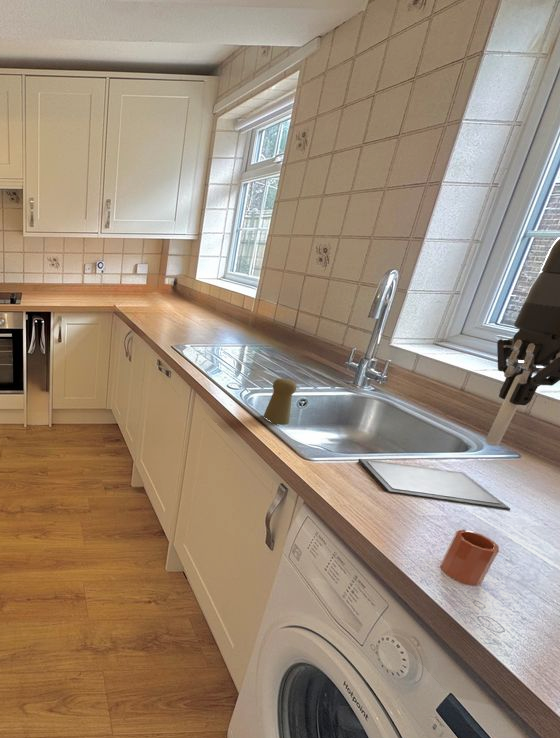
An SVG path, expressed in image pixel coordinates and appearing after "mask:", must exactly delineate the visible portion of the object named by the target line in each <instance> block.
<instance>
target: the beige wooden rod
mask: <svg viewBox="0 0 560 738" xmlns="http://www.w3.org/2000/svg"><path fill="white" fill-rule="evenodd" d="M521 376H522V374H520V375H517V376H516V377H515V379H514V381H513V383H512V385H511V387H510V389H509V391H508V393H507V396H506V398H505V399H503V403H502V404H501V406H500V408H499V410H498V412H497V415H496V416H495V418H494V421H493V422H492V425H491V427H490V429H489V432H488V433H487V436H486V438H485V443H486V444H487V445H489V446H492V447H495V446H496V447H497V446H498V445H500V444H501V441H502V439H503V438H504V435H505V434H506V432H507V430H508V427H509V425H510V424H511V421H512V419H513V417H514V415H515V413H516V411H517V409H518V407H519V405H515V404H513V403H510V398H511V396H512V394H513V392H514V390H515V388H516V386H517V384H518V383H520V378H521Z"/></svg>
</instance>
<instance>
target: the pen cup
mask: <svg viewBox="0 0 560 738" xmlns="http://www.w3.org/2000/svg"><path fill="white" fill-rule="evenodd" d="M499 552H500V547H499V545H498V544H497V543H496V542H494V540H492V539H491V538H489V537H487V536H485V535H483V534H481V533H479V532H476V531H473V530H467V529H458V530H456V531H455V533H454V535H453V538H452V539H451V541H450V543H449V545H448V547H447V550H446V551H445V554H444V555H443V558H442V560H441V562H440V569H441V571H443V573H444V574H445V575H447V576H448V577H450V578H451V579H453V580H455V581H457V582H458V583H460V584H461V583H462V584H464V585H466V586H467V585H468V586H472V587H473V586H474V587H477V586H479V585H481V584H482V583H483V581H484V579H485V577H486V575H487V574H488V572H489V570H490V568H491V566H492V564H493V563H494V561H495V559H496V557H497V555H498V553H499Z"/></svg>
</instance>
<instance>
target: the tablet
mask: <svg viewBox="0 0 560 738" xmlns="http://www.w3.org/2000/svg"><path fill="white" fill-rule="evenodd" d="M357 462H358V464H359V465H360V466H361V467H362V468H363V469H364V470H365V471H366V473H368V474H369V476H370V477H371V478H372V479H374V481H375V483H376V484H378V485H379V487H380V488H381V489H382V490H383V491H384V492H385V493H386V494H387V493H388V494H395V495H402V496H410V497H414V498H415V497H416V498H423V499H428V500H429V499H430V500H436V501H444V502H449V503H450V502H451V503H458V504H463V505H471V506H479V507H483V508H484V507H485V508H492V509H500V510H505V511H506V510H507V511H510V510H511V508H510V507H509V506H508V505H507V504H505V503H504V502H502V501H501V500H500V499H499V498H497V496H495V495H493V494H492V493H491V492H490V491H488V490H487V489H485V488H484V487H483V486H482V485H480V484H479V483H478V482H477V481H475V480H474V479H473V478H471V477H470V476H468V475H467V474H466V472H463V471H456V470H448V469H440V468H434V467H433V468H432V467H426V466H425V467H424V466H417V465H412V464H411V465H409V464H402V463H395V462H387V461H379V460H373V459H365V458H359V459H358V461H357Z"/></svg>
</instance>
